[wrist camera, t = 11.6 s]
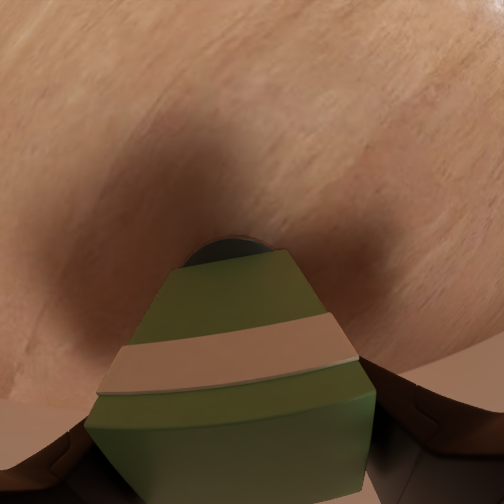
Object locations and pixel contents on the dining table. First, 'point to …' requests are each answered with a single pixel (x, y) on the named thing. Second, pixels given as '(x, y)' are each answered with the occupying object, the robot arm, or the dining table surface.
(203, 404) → the packet
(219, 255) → the coaster
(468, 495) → the robot arm
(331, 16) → the dining table surface
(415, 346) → the dining table surface
